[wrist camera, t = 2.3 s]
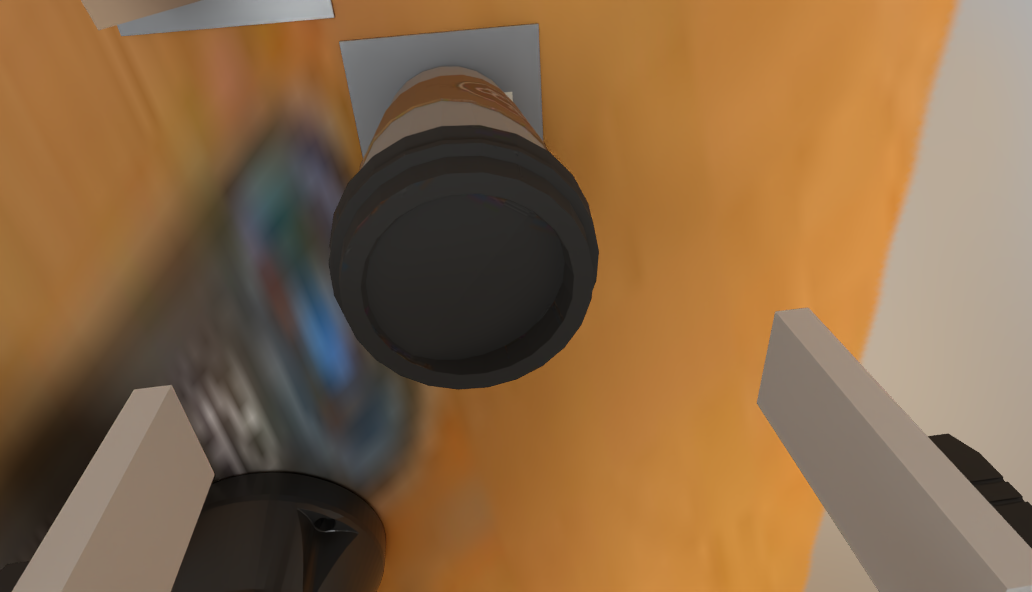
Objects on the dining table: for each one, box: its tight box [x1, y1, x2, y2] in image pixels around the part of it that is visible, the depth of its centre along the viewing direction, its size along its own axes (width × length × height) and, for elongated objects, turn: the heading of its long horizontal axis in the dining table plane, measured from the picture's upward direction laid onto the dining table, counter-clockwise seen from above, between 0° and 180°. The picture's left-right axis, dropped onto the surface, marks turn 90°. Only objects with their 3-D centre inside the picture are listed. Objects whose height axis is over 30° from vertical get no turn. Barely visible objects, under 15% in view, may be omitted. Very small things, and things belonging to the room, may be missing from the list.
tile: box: [339, 23, 543, 158], centre depth 30 cm, size 9×9×1 cm
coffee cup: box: [329, 66, 599, 389], centre depth 24 cm, size 8×8×15 cm
